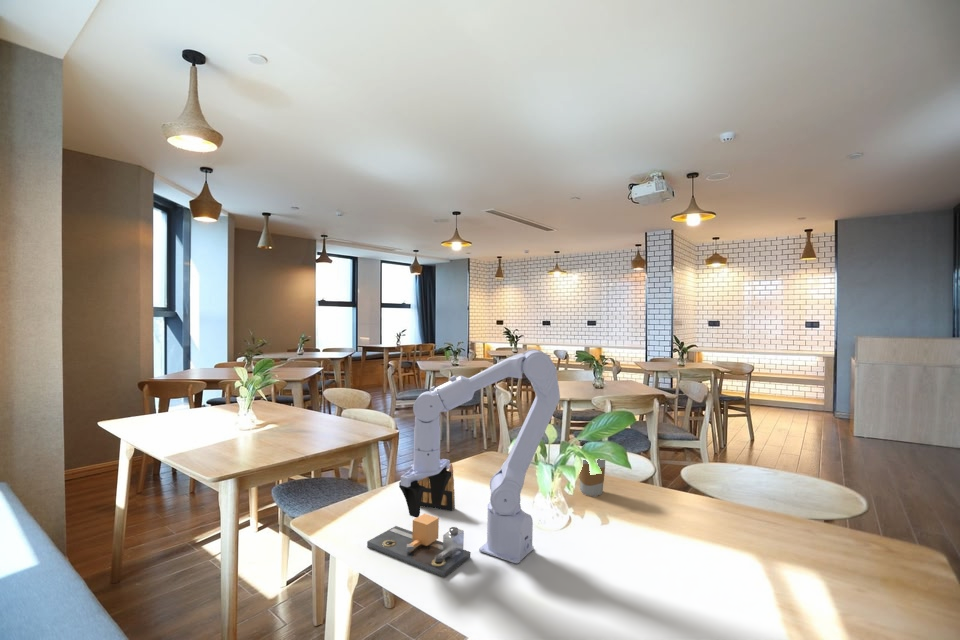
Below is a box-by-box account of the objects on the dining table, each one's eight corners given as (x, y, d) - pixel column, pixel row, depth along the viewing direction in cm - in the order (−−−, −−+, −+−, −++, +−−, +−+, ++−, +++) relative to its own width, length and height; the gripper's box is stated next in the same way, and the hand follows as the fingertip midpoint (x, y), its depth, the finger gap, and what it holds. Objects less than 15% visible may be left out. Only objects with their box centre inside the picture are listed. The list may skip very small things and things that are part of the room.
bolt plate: (470, 557, 96) (470, 529, 96) (444, 577, 88) (445, 546, 88) (395, 531, 107) (396, 505, 107) (367, 546, 100) (367, 519, 100)
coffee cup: (609, 491, 135) (610, 440, 135) (601, 500, 128) (602, 446, 128) (582, 485, 139) (583, 435, 139) (572, 493, 132) (573, 442, 132)
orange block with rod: (438, 538, 101) (438, 518, 101) (414, 553, 94) (414, 532, 94) (424, 533, 103) (424, 513, 103) (399, 548, 96) (400, 526, 96)
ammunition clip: (454, 508, 121) (455, 463, 121) (452, 511, 119) (453, 465, 119) (417, 503, 124) (418, 458, 124) (414, 505, 122) (415, 460, 122)
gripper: (433, 437, 108) (432, 495, 108) (390, 452, 96) (388, 516, 96) (457, 442, 104) (456, 502, 104) (416, 458, 92) (414, 525, 92)
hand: (425, 509), depth 100 cm, fingers open, 7 cm apart
